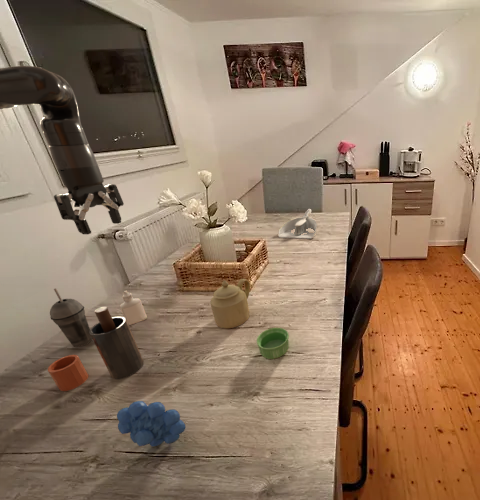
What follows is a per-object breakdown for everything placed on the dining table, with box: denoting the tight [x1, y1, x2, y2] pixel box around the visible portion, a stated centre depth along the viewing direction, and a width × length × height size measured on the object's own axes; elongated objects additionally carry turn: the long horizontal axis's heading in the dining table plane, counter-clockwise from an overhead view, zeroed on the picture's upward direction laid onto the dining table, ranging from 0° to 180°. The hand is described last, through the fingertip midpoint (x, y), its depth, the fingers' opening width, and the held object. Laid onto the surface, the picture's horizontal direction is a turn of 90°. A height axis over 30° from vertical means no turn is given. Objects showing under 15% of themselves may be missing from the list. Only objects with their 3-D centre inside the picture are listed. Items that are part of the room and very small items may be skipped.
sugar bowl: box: [209, 278, 251, 329], centre depth 95 cm, size 15×11×15 cm
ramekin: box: [256, 327, 290, 360], centre depth 81 cm, size 9×9×4 cm
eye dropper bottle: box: [119, 290, 148, 326], centre depth 93 cm, size 4×6×12 cm
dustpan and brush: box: [277, 208, 318, 240], centre depth 178 cm, size 23×33×10 cm
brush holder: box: [47, 354, 89, 392], centre depth 71 cm, size 6×6×7 cm
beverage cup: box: [49, 288, 93, 348], centre depth 82 cm, size 7×7×20 cm
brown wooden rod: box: [94, 306, 116, 333], centre depth 72 cm, size 4×4×19 cm
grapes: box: [116, 400, 187, 448], centre depth 55 cm, size 12×7×12 cm, turn 97°
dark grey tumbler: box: [89, 316, 145, 380], centre depth 73 cm, size 7×7×15 cm
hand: (102, 228), depth 74 cm, fingers open, 8 cm apart
